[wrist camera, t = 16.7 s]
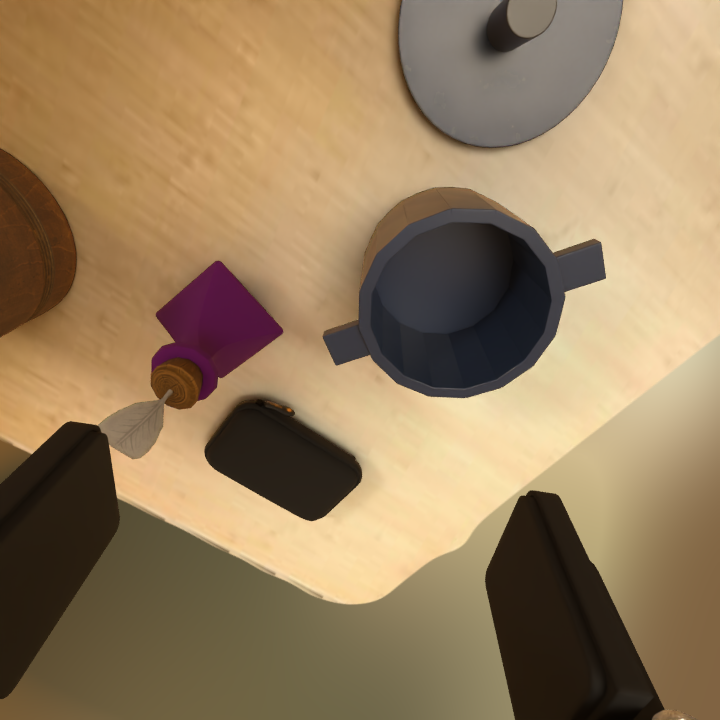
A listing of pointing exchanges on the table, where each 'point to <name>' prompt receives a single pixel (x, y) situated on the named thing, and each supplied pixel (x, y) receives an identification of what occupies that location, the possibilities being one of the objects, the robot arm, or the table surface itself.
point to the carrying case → (282, 459)
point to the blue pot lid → (503, 63)
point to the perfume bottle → (194, 353)
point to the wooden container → (30, 247)
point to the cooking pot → (459, 294)
